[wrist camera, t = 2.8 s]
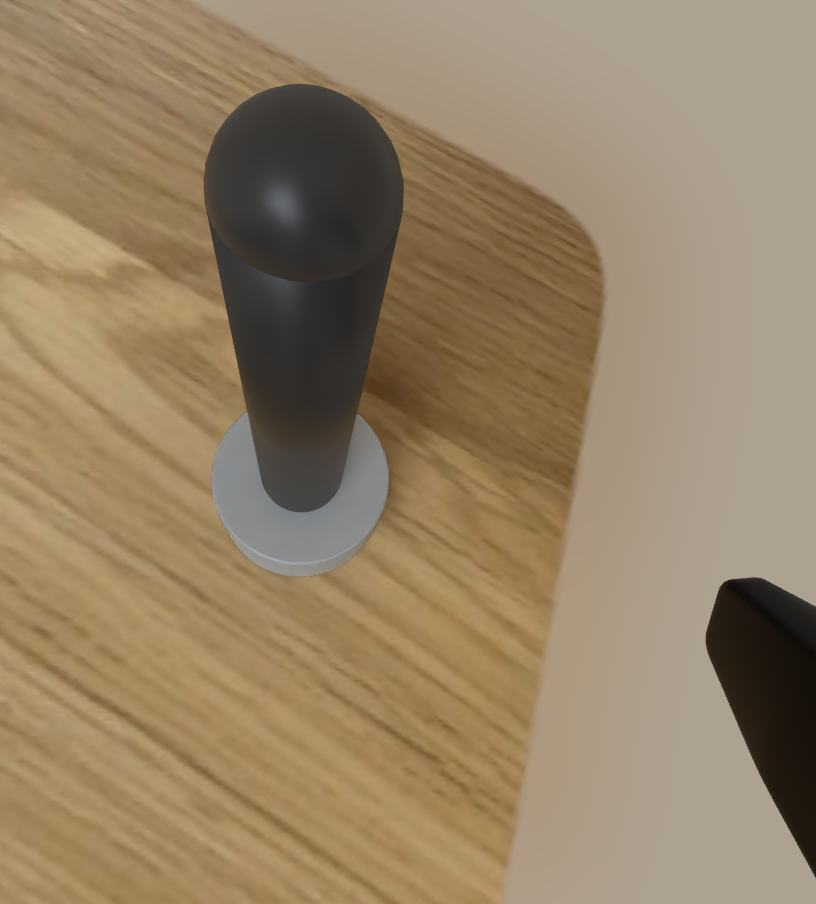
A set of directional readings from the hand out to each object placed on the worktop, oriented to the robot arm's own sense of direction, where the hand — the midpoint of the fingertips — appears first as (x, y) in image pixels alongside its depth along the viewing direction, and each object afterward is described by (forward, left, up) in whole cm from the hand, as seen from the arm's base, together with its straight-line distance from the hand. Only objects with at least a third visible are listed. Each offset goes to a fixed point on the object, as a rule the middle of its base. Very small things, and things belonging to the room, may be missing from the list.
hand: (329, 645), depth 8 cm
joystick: (+4, +2, -11) cm, 12 cm away
